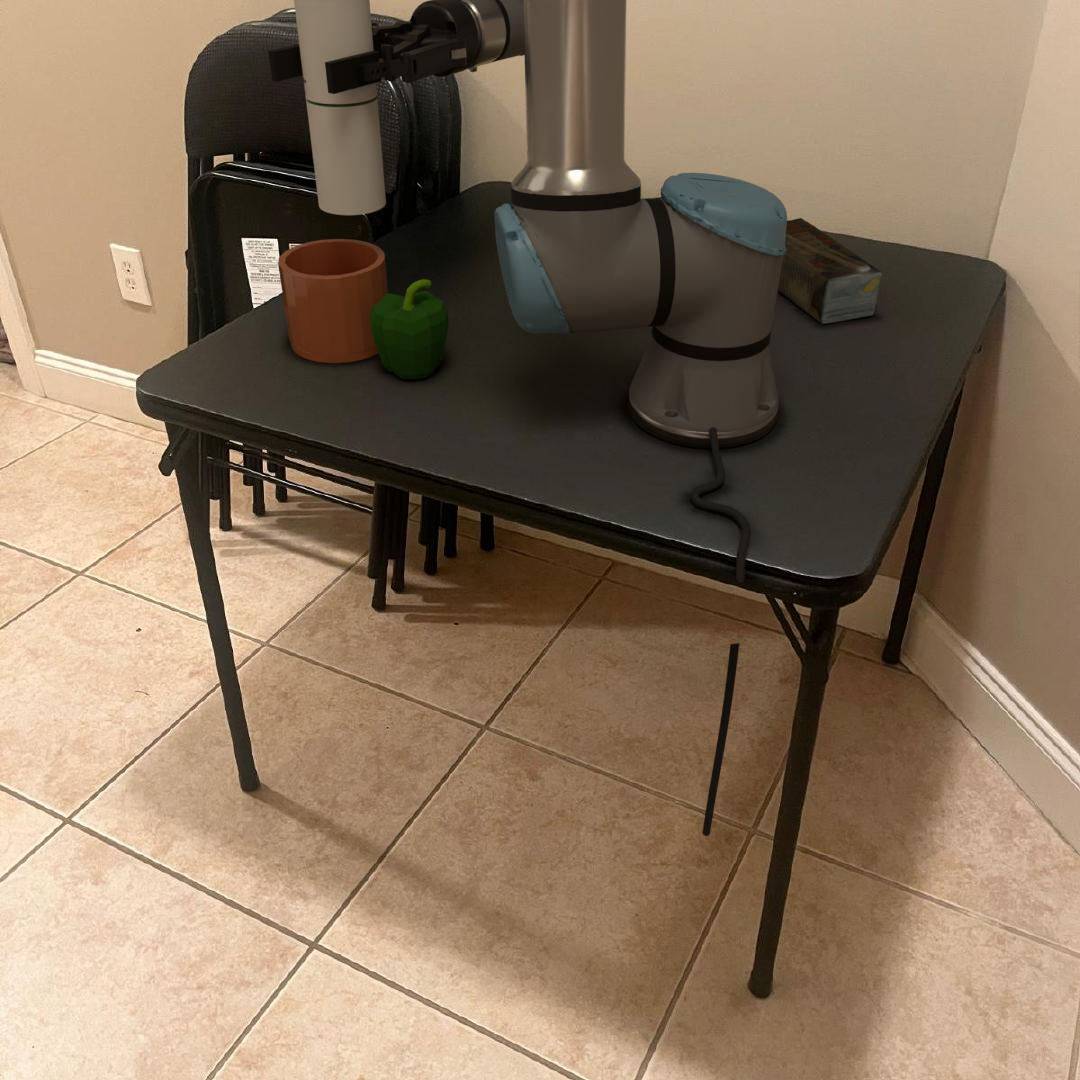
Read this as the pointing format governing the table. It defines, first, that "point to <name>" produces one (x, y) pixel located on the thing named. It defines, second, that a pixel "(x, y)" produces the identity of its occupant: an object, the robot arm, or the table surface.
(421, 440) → the table surface
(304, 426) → the table surface
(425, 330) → the bell pepper
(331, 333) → the crock
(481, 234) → the table surface
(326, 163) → the cylindrical container
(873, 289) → the beverage carton
